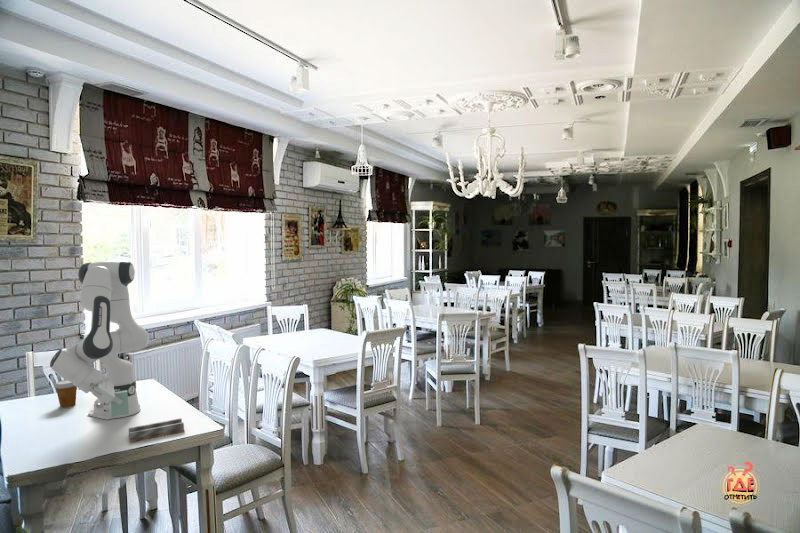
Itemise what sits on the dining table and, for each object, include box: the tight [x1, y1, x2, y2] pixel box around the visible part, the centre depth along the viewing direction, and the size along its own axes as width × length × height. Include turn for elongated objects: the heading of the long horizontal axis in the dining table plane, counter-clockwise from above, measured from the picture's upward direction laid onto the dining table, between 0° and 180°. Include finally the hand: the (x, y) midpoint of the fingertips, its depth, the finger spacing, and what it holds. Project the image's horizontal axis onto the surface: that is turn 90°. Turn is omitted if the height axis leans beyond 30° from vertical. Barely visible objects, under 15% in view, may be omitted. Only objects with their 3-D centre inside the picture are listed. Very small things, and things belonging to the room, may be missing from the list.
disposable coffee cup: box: [54, 379, 78, 409], centre depth 257 cm, size 10×10×12 cm
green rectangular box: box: [111, 390, 129, 417], centre depth 210 cm, size 6×2×9 cm, turn 119°
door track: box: [128, 417, 185, 444], centre depth 217 cm, size 20×9×4 cm, turn 120°
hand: (121, 401), depth 210 cm, fingers closed on green rectangular box, 2 cm apart
